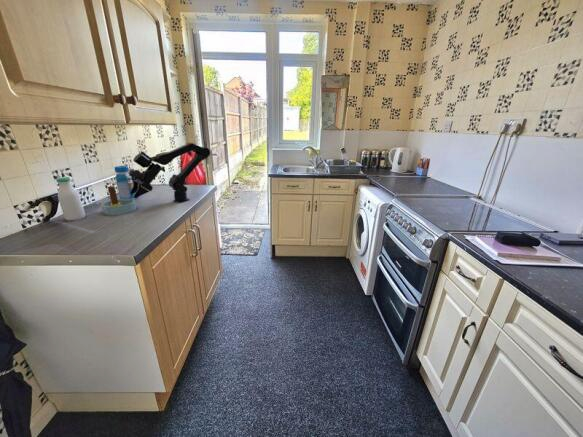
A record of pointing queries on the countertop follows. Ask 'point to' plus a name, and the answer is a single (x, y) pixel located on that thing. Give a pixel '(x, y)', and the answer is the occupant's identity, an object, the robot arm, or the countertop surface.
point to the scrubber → (113, 196)
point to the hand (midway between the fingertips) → (132, 195)
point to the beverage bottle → (124, 182)
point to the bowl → (119, 207)
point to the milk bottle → (69, 200)
